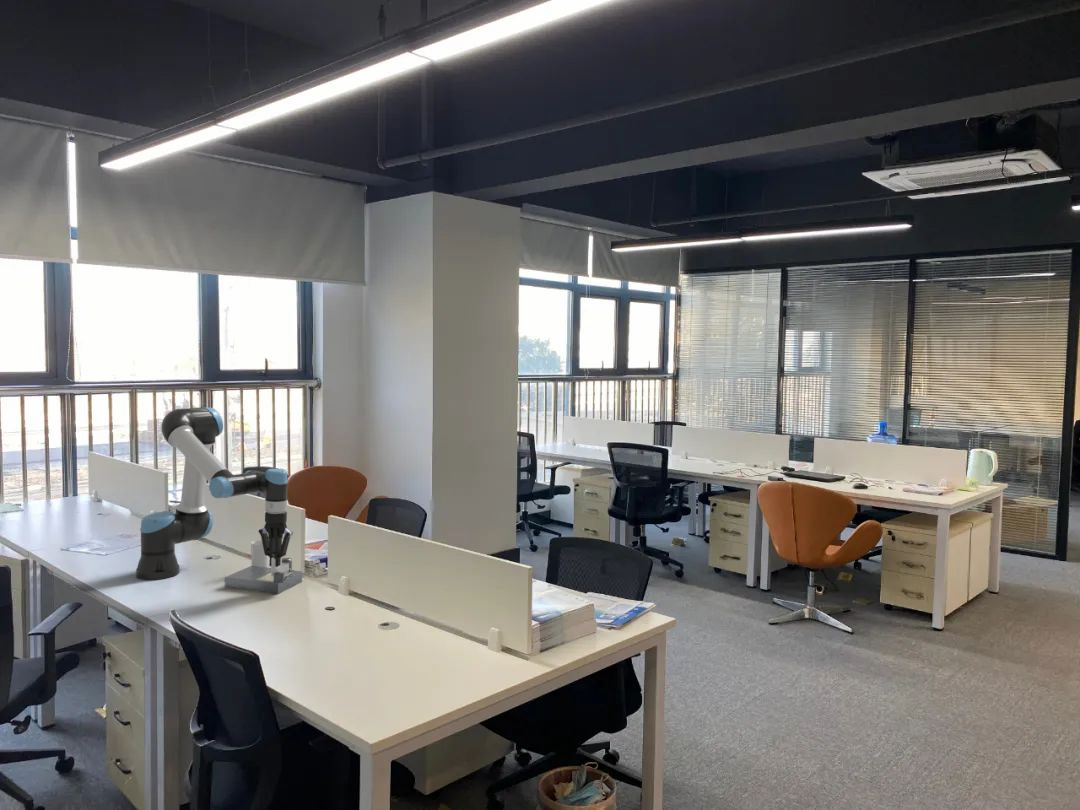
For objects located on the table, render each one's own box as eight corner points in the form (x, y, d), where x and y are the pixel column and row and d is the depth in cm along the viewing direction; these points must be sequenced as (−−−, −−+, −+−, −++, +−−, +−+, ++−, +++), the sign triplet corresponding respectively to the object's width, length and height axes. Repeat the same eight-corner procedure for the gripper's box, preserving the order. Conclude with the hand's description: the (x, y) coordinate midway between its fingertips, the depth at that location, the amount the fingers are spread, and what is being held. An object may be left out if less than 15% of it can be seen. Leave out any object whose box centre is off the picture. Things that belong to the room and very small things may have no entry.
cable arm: (282, 567, 295) (282, 557, 295) (292, 567, 296) (292, 557, 295) (273, 582, 276) (273, 572, 276) (283, 582, 277) (283, 572, 276)
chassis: (224, 587, 283) (225, 576, 283) (251, 575, 299) (251, 564, 299) (278, 594, 278) (278, 582, 278) (302, 581, 294) (302, 570, 293)
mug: (255, 575, 299) (255, 545, 299) (248, 571, 304) (248, 541, 304) (280, 571, 306) (280, 541, 305) (272, 567, 311) (273, 538, 310)
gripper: (254, 511, 279) (253, 575, 281) (285, 515, 276) (284, 579, 277) (266, 507, 286) (265, 570, 288) (297, 511, 283) (296, 574, 285)
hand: (274, 574), depth 283 cm, fingers closed
